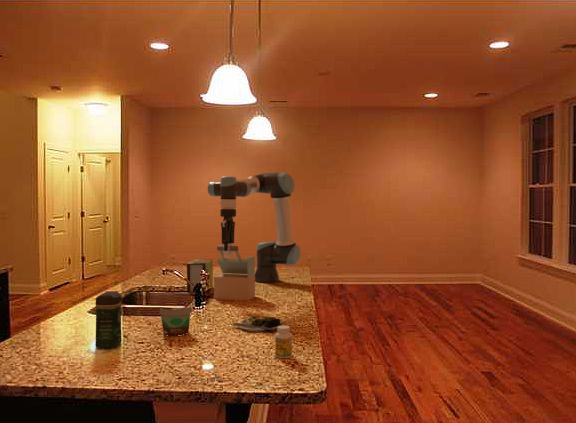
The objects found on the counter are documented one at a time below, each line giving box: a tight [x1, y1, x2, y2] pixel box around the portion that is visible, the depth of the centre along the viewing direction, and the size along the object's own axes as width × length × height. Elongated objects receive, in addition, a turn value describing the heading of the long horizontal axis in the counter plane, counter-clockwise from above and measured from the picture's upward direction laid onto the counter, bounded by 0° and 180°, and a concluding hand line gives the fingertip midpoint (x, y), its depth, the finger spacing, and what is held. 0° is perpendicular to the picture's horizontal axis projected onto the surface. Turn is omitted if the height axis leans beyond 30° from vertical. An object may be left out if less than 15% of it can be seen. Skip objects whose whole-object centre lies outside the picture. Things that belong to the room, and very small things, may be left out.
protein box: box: [186, 259, 214, 293], centre depth 272 cm, size 10×15×16 cm
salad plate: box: [232, 316, 283, 333], centre depth 198 cm, size 19×18×5 cm
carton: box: [213, 254, 256, 302], centre depth 252 cm, size 10×18×21 cm, turn 76°
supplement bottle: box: [274, 325, 293, 359], centre depth 162 cm, size 5×5×10 cm
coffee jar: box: [94, 290, 123, 350], centre depth 173 cm, size 10×8×19 cm
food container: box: [158, 304, 193, 337], centre depth 186 cm, size 12×6×10 cm, turn 117°
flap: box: [216, 245, 247, 274], centre depth 249 cm, size 22×16×2 cm
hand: (227, 257), depth 243 cm, fingers open, 3 cm apart
